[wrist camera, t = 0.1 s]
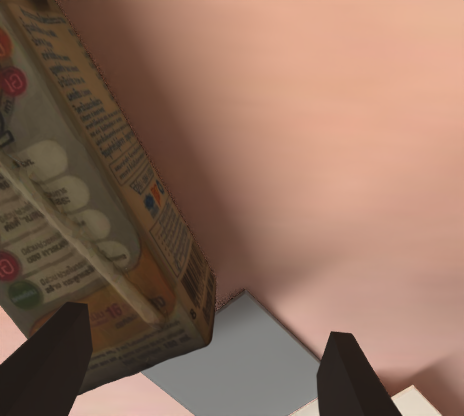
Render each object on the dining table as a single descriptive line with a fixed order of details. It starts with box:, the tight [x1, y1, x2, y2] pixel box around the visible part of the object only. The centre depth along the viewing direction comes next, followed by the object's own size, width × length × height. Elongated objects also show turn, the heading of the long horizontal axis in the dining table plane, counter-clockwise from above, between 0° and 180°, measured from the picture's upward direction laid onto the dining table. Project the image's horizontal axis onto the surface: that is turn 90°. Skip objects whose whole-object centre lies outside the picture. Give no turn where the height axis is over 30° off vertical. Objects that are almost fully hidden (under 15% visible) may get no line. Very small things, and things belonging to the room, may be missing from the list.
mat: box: [141, 289, 321, 416], centre depth 26 cm, size 9×9×1 cm
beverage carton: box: [0, 0, 216, 395], centre depth 19 cm, size 8×19×7 cm, turn 26°
